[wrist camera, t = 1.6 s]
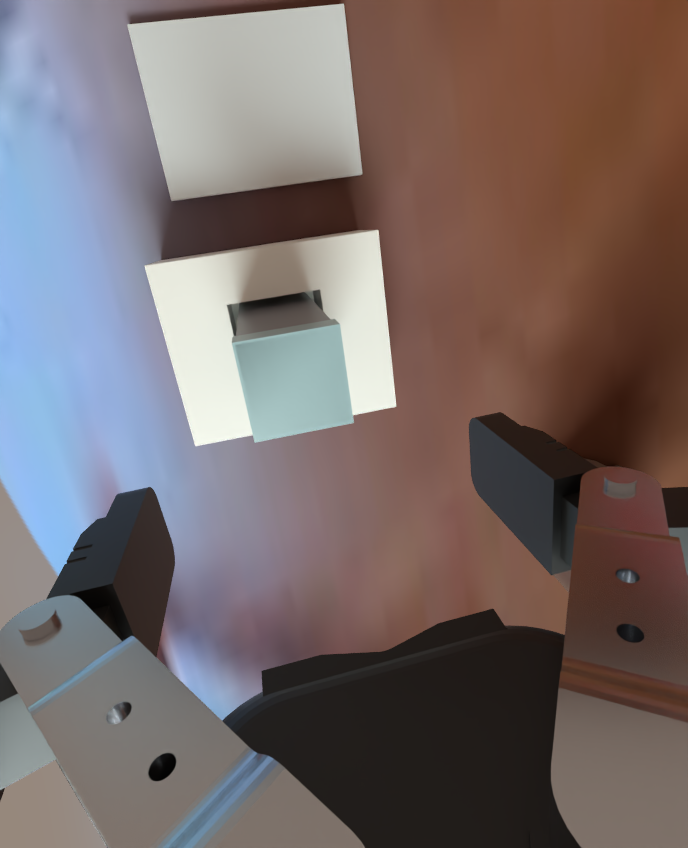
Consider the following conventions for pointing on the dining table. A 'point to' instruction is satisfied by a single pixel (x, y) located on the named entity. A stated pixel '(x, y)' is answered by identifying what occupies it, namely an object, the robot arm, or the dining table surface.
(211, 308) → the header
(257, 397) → the plug
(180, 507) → the dining table surface
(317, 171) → the mat
